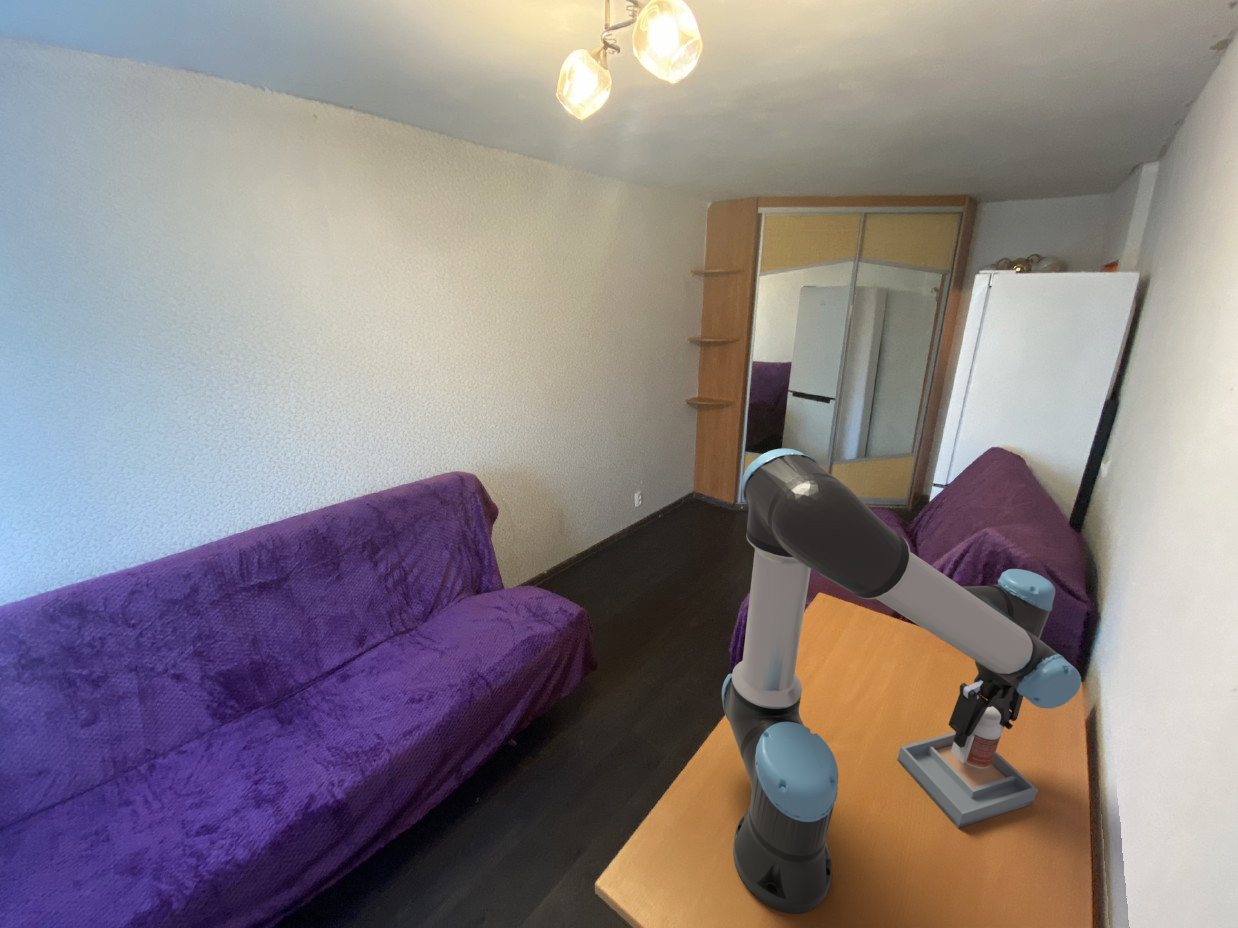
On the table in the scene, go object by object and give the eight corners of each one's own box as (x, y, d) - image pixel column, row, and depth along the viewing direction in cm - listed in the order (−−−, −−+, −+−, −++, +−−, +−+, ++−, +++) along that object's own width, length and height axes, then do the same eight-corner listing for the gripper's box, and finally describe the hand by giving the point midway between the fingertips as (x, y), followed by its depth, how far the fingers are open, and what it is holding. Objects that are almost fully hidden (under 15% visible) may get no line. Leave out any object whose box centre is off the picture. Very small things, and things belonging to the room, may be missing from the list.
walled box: (957, 828, 91) (962, 814, 89) (897, 759, 103) (900, 746, 102) (1032, 803, 95) (1038, 789, 94) (965, 740, 108) (969, 727, 106)
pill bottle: (997, 760, 99) (1012, 714, 96) (981, 776, 96) (997, 729, 92) (962, 737, 104) (976, 693, 100) (946, 751, 101) (960, 706, 97)
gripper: (981, 679, 86) (949, 781, 94) (1067, 658, 91) (1030, 757, 99) (943, 649, 93) (916, 747, 101) (1025, 631, 98) (993, 726, 106)
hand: (972, 752), depth 100 cm, fingers closed on pill bottle, 6 cm apart
